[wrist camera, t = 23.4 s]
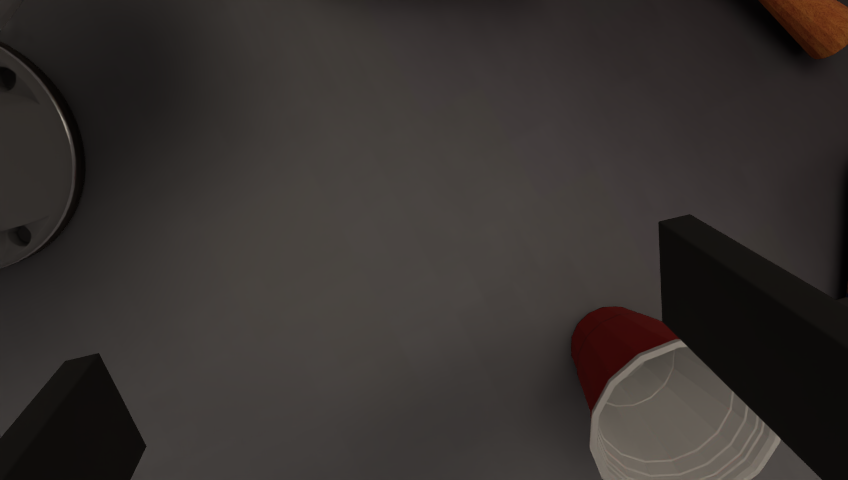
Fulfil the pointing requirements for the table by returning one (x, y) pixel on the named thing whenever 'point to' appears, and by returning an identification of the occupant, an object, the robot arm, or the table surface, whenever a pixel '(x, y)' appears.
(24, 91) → the robot arm
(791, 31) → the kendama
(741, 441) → the plastic cup
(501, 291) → the table surface
